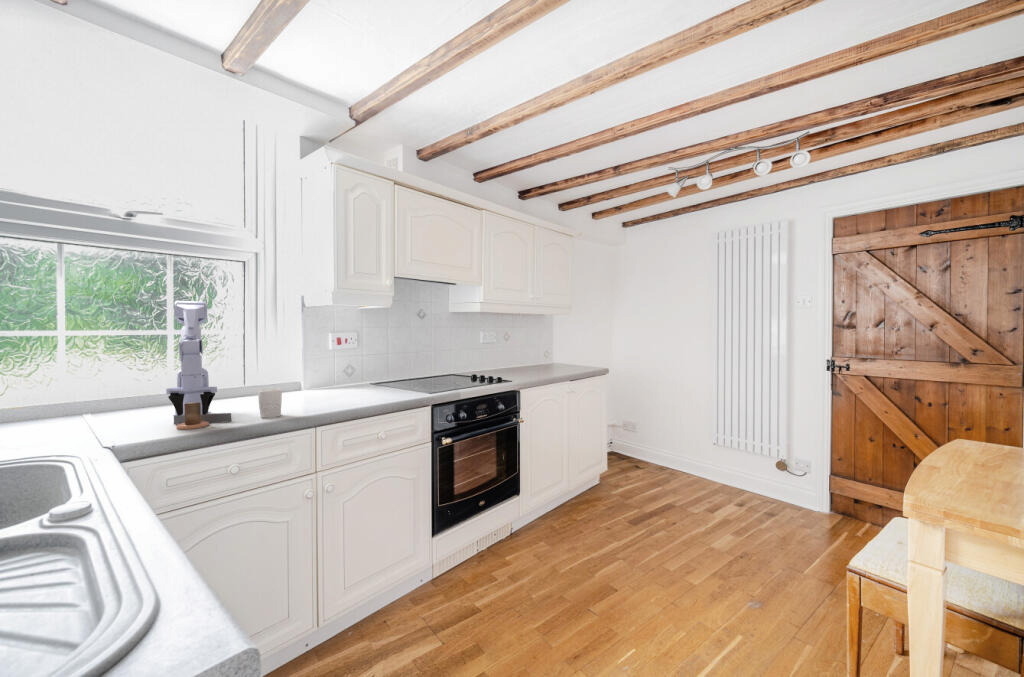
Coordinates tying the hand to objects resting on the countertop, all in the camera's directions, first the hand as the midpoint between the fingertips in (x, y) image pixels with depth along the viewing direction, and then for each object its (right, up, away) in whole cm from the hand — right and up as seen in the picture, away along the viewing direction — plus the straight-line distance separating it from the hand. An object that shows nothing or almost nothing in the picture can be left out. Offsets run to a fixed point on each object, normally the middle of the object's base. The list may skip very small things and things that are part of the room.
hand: (192, 414), depth 148 cm
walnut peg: (0, -3, 0) cm, 3 cm away
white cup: (+17, -4, +17) cm, 24 cm away
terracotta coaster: (0, -4, 0) cm, 4 cm away
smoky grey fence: (-1, -4, +6) cm, 8 cm away
